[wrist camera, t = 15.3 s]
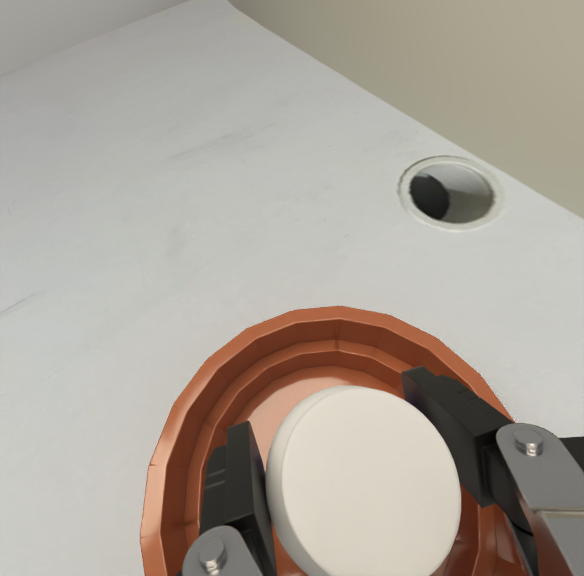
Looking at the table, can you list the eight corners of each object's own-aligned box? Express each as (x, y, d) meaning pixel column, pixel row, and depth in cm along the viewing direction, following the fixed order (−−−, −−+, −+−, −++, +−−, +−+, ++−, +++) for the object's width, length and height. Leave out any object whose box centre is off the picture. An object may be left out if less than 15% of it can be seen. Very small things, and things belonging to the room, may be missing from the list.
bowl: (489, 751, 13) (602, 923, 8) (140, 622, 16) (57, 690, 11) (475, 375, 21) (529, 340, 16) (240, 327, 23) (220, 283, 18)
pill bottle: (359, 401, 17) (405, 323, 9) (420, 514, 15) (562, 551, 6) (264, 447, 17) (217, 408, 8) (311, 577, 14) (312, 714, 6)
